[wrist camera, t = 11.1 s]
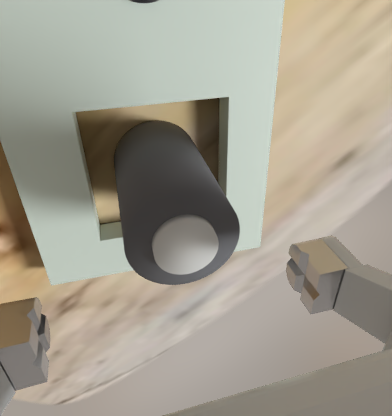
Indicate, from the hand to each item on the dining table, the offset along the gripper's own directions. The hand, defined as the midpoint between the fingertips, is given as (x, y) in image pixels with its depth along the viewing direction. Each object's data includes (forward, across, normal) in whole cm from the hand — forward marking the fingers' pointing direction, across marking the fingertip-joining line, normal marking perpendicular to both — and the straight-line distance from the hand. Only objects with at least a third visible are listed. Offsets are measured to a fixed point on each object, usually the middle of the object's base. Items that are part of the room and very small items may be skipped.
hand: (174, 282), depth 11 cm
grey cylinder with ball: (+9, -1, 0) cm, 9 cm away
